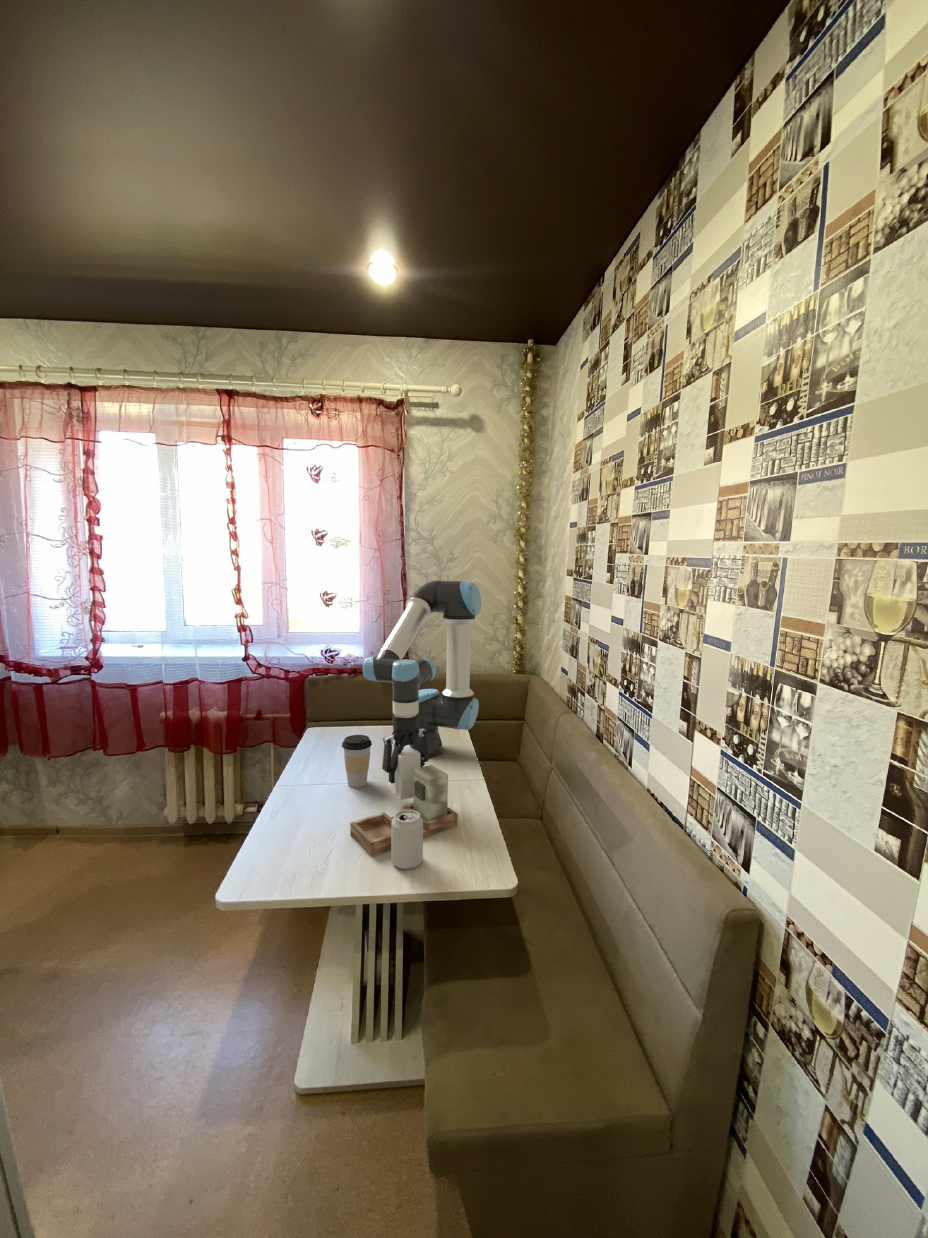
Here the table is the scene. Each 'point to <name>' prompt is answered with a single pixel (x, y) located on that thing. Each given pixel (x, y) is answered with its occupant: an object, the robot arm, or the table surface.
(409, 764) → the small box
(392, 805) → the table surface
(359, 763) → the coffee cup
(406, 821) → the can
